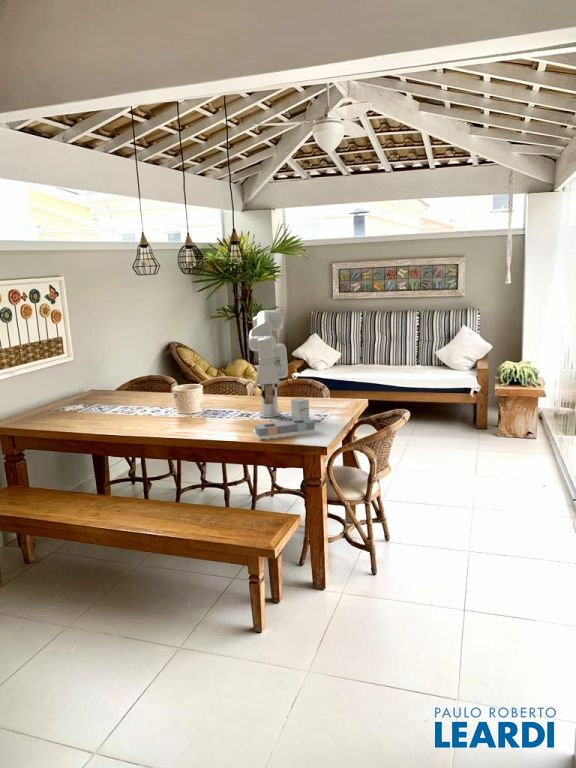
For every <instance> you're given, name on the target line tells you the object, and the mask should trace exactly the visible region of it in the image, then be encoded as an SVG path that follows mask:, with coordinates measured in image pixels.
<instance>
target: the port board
mask: <svg viewBox="0 0 576 768" xmlns="http://www.w3.org/2000/svg"><path fill="white" fill-rule="evenodd" d="M315 426H316V425H315V421H314V420H312V419H311V418H309V419H301V420H293V421H292V420H288V421H287V420H285V421H280V422H279V421H277V422H272V423H270V422H269V423H263V424H255V425H254V429H252V434H253V435H254V437H256V439H257V440H258V441H262V440H261V439H266V440H271V439H270V438H273V439H280V438H279V437H281V438H287V436H288V437H296V436H301V435H309V434H311V435H312V434H315V433H316V429H315V428H316V427H315ZM295 435H296V436H295Z"/></svg>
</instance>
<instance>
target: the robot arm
mask: <svg viewBox="0 0 576 768" xmlns="http://www.w3.org/2000/svg"><path fill="white" fill-rule="evenodd" d="M252 325H253V328H252V329H251V330H250V331H249V334H248V347H249V350H250V351H252V352H257V353H258V365H257V366H256V380H255V382H254V384H253V386H254V387H256V388H258V389H259V390H260V399H261V401H260V403H261V412H260V413H259V416H260V417H261V418H276V417H279V416H281V414H282V412H281V411H279V407H278V406H279V405H278V390H277V389H278V386H279V385H281V383H282V381H281V380H280V379H285V378H286V377H288V375H289V370H288V369H289V368H288V365H289V364H288V363H289V362H288V353H287V352H288V351H287V346H286V345H285V344H284V343H277V339H276V337H275V336H274V335H273V333H272V332H273V330H274V331H275V330H282V329H283V327H284V315H283V312H282V311H281V310H280V309H267V310H260V311H259V312H258V313H257V315H256V316H254V317H253V318H252ZM267 384H272V386H273V404H265V403H264V398H265V391H264V385H267Z"/></svg>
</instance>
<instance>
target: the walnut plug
mask: <svg viewBox="0 0 576 768" xmlns="http://www.w3.org/2000/svg"><path fill="white" fill-rule="evenodd" d="M264 391H265V398H264V403H265V404H273V386H272V384H267V385H264Z"/></svg>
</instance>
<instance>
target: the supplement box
mask: <svg viewBox="0 0 576 768" xmlns="http://www.w3.org/2000/svg"><path fill="white" fill-rule="evenodd" d="M309 403H310V400H309V399H308V398H303V397H299V398H294V399H291V400H290V406H291V407H290V408H291V421H293V420H301V419H310V406H309V405H310V404H309Z"/></svg>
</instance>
